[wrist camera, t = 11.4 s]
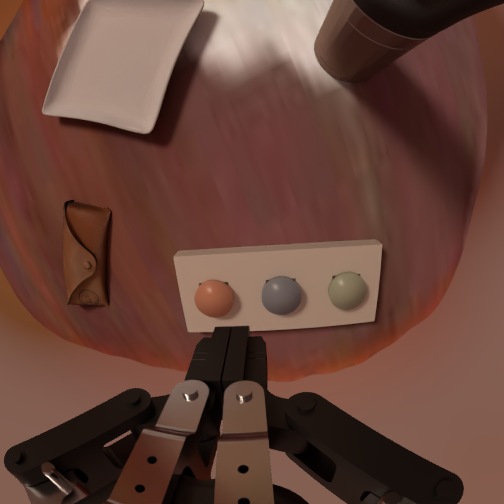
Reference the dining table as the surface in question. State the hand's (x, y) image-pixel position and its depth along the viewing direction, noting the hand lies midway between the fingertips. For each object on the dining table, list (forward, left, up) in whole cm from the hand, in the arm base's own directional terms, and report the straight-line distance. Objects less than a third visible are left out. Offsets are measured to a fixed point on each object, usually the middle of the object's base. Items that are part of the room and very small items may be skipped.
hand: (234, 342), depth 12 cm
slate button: (+5, +9, -27) cm, 29 cm away
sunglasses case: (+22, -16, -28) cm, 39 cm away
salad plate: (-6, -31, -28) cm, 42 cm away
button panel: (+5, +9, -27) cm, 29 cm away
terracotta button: (+11, +3, -27) cm, 29 cm away
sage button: (-1, +15, -27) cm, 31 cm away
